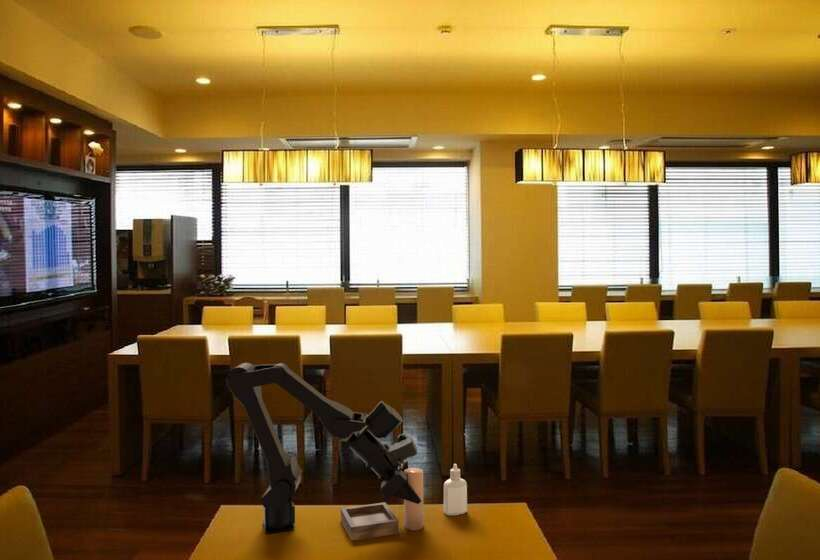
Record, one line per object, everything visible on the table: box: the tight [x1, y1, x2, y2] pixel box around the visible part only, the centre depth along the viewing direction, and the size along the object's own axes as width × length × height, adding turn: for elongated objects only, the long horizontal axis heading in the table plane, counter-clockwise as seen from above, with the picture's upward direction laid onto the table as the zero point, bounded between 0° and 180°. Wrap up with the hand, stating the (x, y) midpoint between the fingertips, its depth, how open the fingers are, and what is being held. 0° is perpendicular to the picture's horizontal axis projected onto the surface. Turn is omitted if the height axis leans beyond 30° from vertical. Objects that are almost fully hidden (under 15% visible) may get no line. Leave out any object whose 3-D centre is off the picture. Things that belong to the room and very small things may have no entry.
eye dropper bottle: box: [443, 463, 468, 517], centre depth 155 cm, size 4×6×12 cm
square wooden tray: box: [340, 501, 400, 541], centre depth 147 cm, size 11×11×3 cm
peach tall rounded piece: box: [403, 467, 424, 531], centre depth 147 cm, size 4×4×13 cm
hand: (419, 498), depth 147 cm, fingers closed on peach tall rounded piece, 4 cm apart
